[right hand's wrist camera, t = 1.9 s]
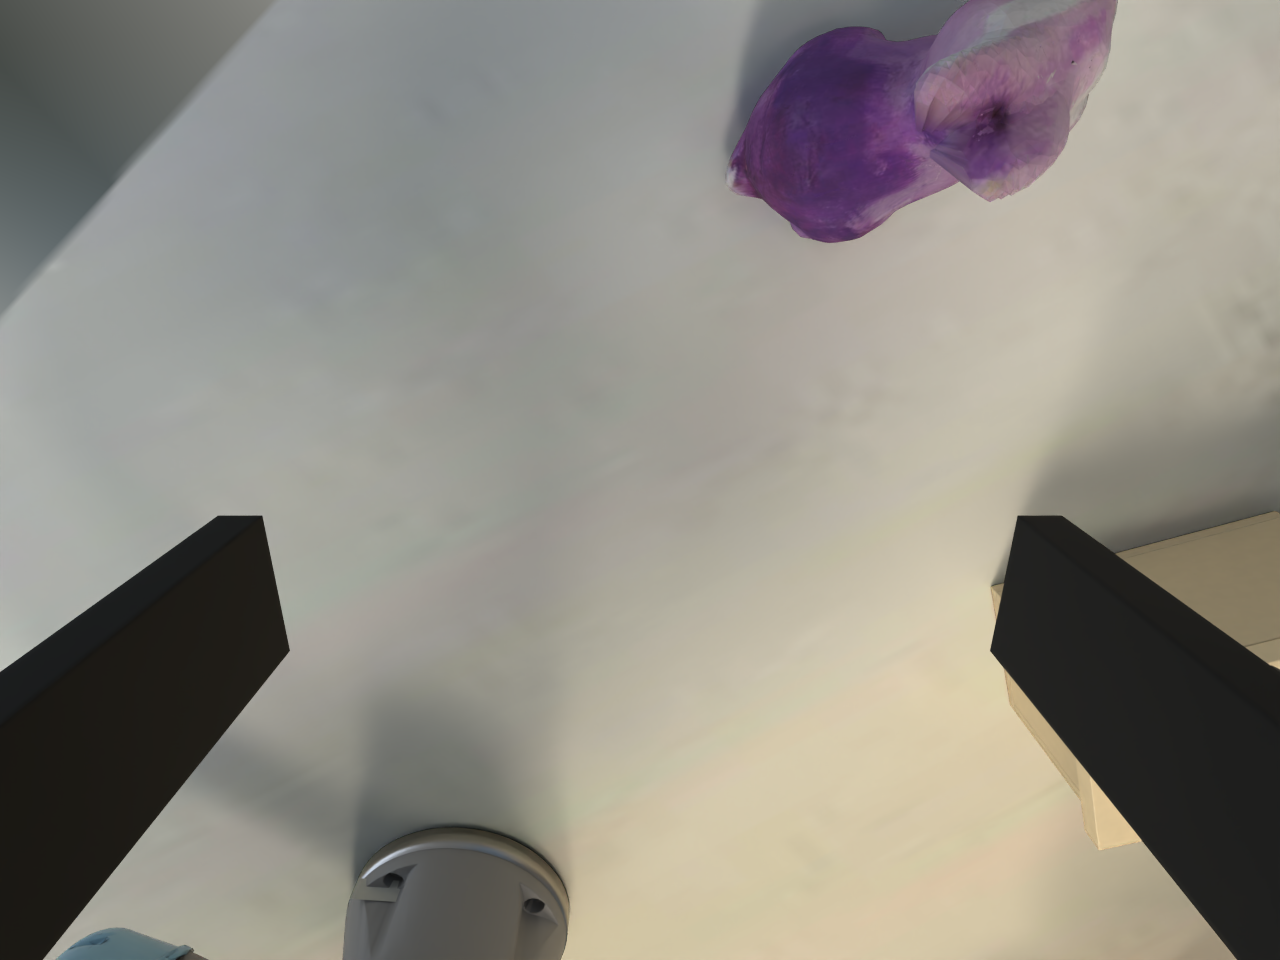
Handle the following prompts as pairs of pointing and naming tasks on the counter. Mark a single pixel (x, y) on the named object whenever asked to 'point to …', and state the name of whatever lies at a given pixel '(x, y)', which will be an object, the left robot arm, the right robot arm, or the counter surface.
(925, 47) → the figurine
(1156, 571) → the chest
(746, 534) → the counter surface
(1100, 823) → the lid
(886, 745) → the counter surface
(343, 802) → the counter surface
